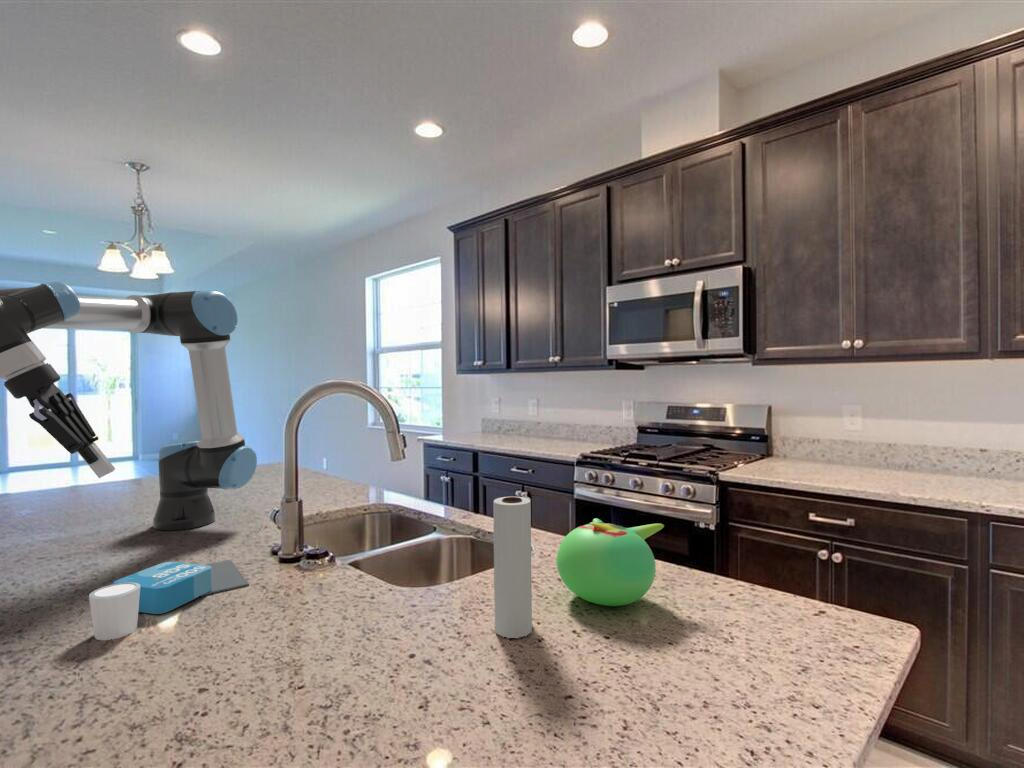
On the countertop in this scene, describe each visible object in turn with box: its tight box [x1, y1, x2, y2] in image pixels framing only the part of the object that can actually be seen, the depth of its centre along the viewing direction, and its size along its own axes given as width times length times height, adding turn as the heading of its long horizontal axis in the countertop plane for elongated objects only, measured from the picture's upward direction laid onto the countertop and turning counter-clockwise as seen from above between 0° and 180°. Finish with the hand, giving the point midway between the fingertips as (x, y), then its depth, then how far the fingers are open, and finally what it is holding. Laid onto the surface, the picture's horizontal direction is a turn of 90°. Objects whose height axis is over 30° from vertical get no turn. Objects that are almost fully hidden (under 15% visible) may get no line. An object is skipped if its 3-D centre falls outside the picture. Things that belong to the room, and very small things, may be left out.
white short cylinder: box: [88, 582, 140, 641], centre depth 89 cm, size 7×7×7 cm
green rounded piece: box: [556, 517, 665, 607], centre depth 100 cm, size 18×17×15 cm
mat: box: [201, 559, 250, 597], centre depth 111 cm, size 16×18×1 cm
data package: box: [112, 561, 212, 615], centre depth 102 cm, size 12×4×12 cm
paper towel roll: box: [492, 493, 533, 639], centre depth 88 cm, size 7×6×21 cm
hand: (107, 473), depth 109 cm, fingers closed
